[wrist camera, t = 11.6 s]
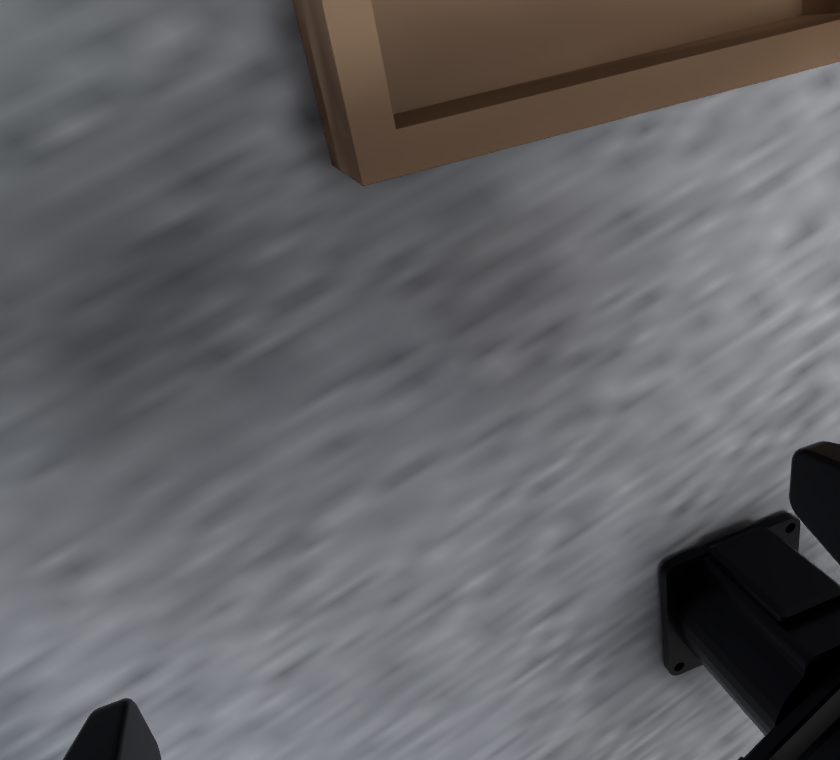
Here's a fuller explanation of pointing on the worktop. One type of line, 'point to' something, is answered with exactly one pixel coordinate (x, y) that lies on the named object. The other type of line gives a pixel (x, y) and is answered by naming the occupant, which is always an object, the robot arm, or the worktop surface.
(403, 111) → the tray
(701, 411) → the worktop surface
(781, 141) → the worktop surface
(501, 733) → the worktop surface
